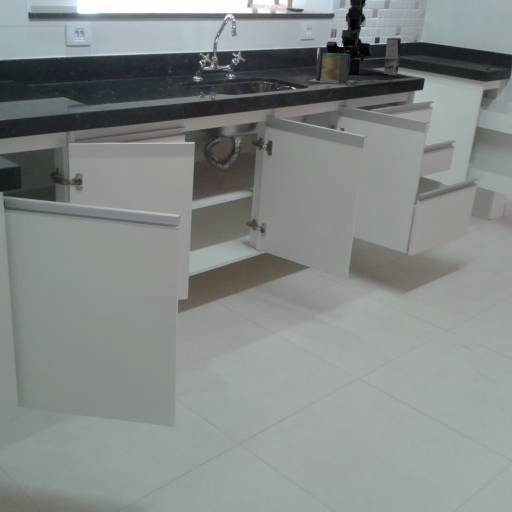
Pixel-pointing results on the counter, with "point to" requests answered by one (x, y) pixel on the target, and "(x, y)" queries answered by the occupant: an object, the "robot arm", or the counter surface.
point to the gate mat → (332, 81)
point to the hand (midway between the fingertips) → (344, 64)
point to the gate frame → (342, 70)
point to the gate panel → (332, 66)
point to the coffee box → (392, 56)
